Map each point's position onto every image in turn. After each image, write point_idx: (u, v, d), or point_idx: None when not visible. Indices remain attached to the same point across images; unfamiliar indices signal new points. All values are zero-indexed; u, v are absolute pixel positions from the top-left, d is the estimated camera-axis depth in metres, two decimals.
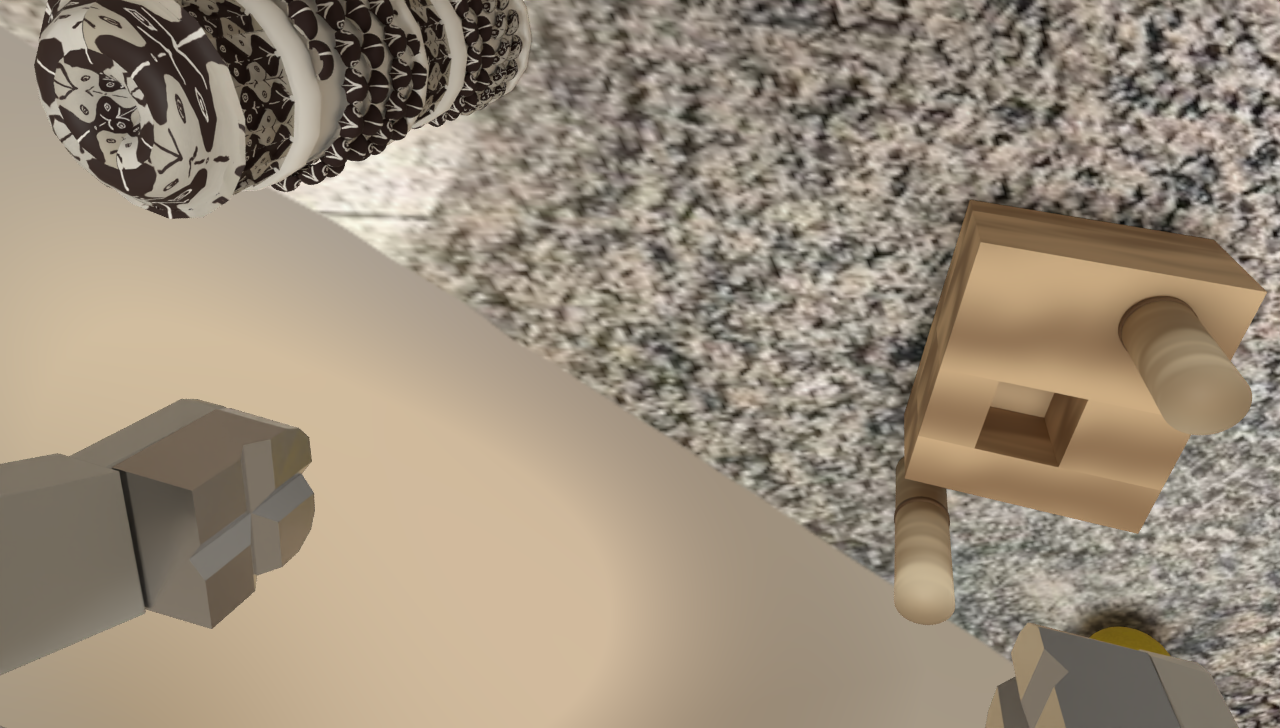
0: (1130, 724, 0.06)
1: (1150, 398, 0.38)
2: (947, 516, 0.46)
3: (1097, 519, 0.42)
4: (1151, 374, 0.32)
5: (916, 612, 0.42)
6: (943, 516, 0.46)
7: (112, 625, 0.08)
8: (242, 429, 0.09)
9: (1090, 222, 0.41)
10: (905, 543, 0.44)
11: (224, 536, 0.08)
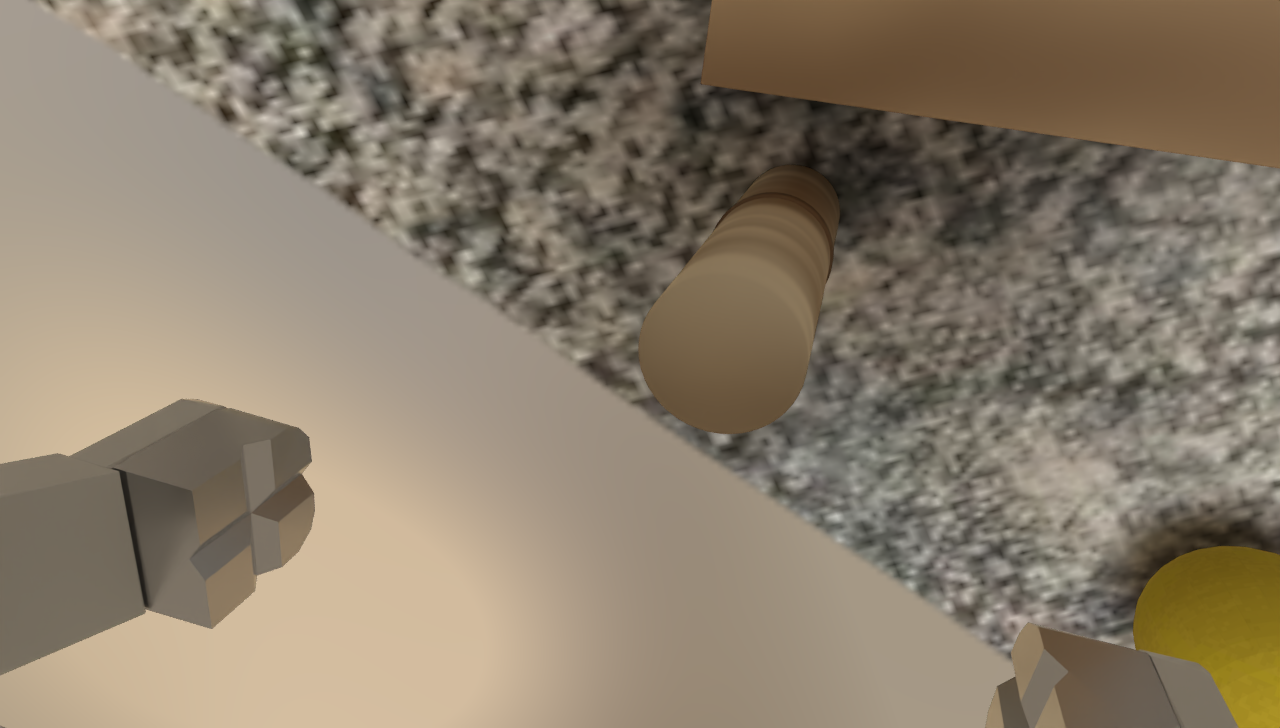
0: (1130, 724, 0.06)
1: None
2: (825, 233, 0.19)
3: (1212, 142, 0.15)
4: None
5: (703, 392, 0.14)
6: (813, 223, 0.19)
7: (112, 625, 0.08)
8: (242, 429, 0.09)
9: None
10: (699, 249, 0.17)
11: (224, 536, 0.08)
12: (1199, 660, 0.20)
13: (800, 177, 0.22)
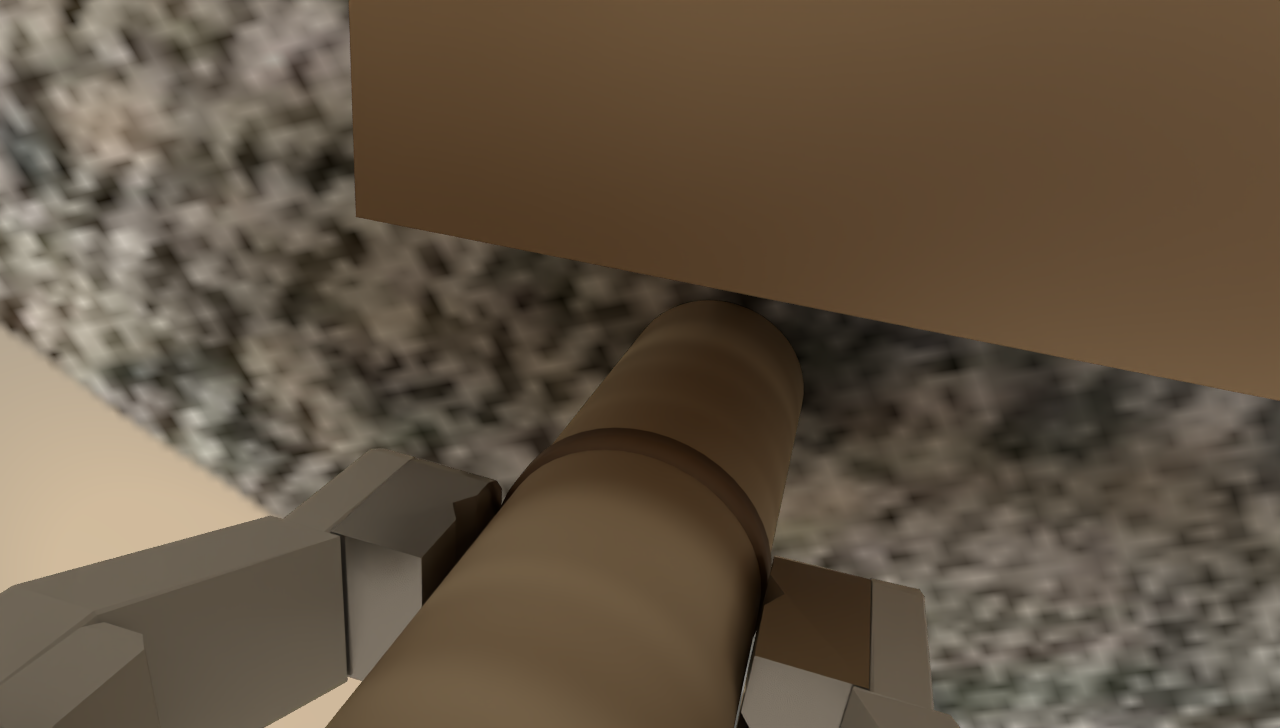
0: (820, 636, 0.07)
1: None
2: (748, 539, 0.08)
3: None
4: None
5: None
6: (712, 534, 0.08)
7: (318, 695, 0.08)
8: (444, 484, 0.08)
9: None
10: (328, 726, 0.05)
11: None
12: None
13: (718, 346, 0.11)
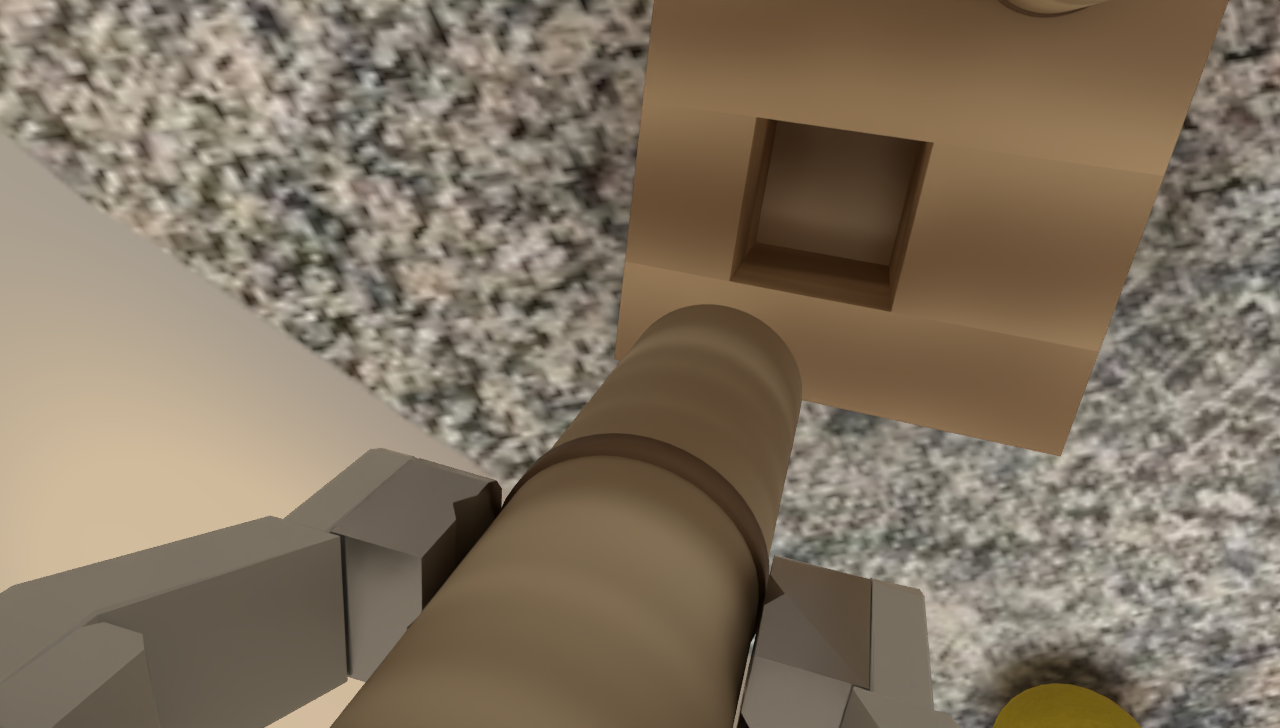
0: (821, 636, 0.07)
1: (1060, 125, 0.18)
2: (746, 544, 0.08)
3: (977, 427, 0.20)
4: None
5: None
6: (710, 540, 0.08)
7: (317, 695, 0.08)
8: (444, 484, 0.08)
9: None
10: None
11: None
12: None
13: (716, 351, 0.11)
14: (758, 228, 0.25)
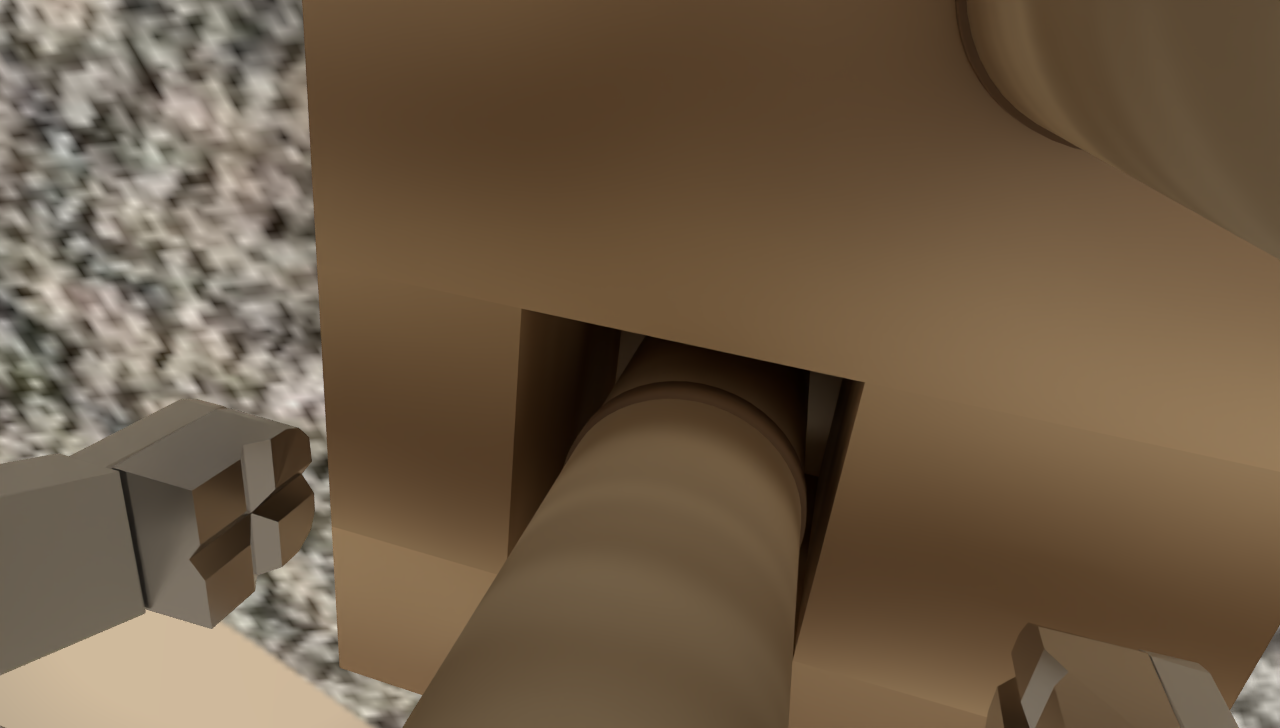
0: (1130, 724, 0.06)
1: (1132, 371, 0.08)
2: (791, 472, 0.09)
3: None
4: None
5: None
6: (765, 465, 0.09)
7: (112, 625, 0.08)
8: (242, 429, 0.09)
9: None
10: (480, 612, 0.07)
11: (224, 536, 0.08)
12: None
13: None
14: None
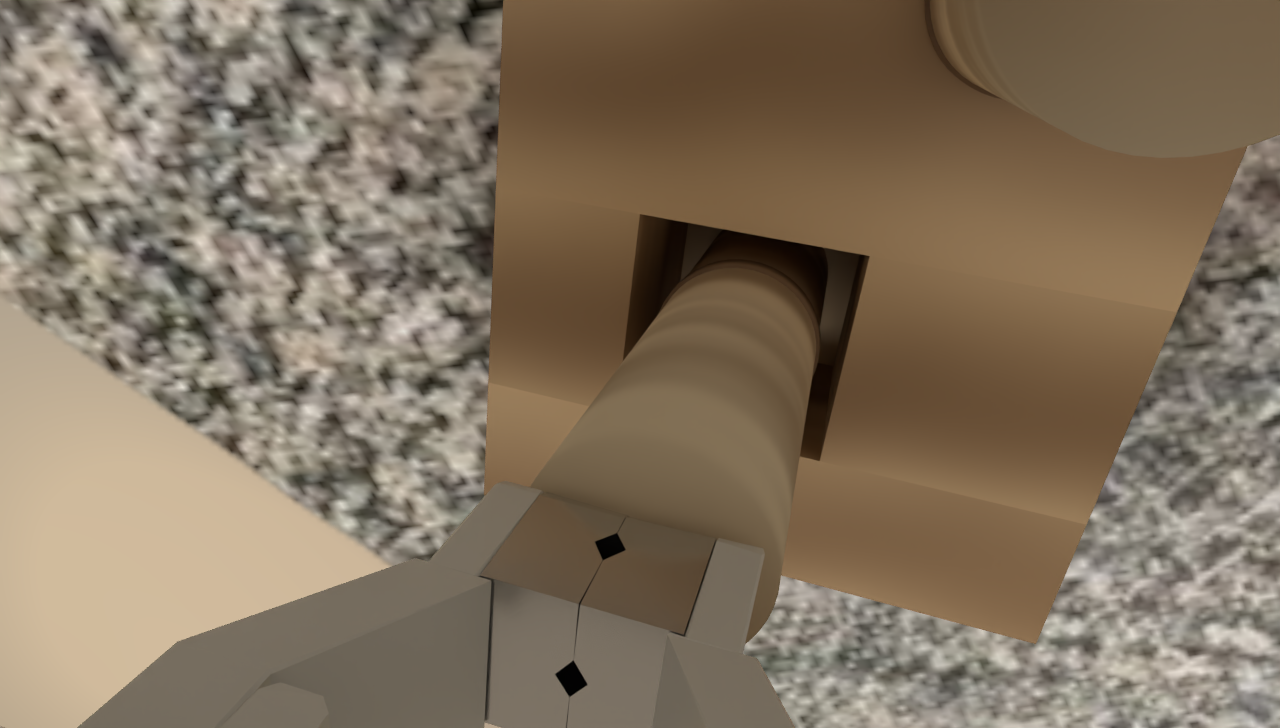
0: (651, 587, 0.07)
1: (1037, 241, 0.13)
2: (809, 315, 0.14)
3: (931, 603, 0.16)
4: None
5: None
6: (792, 305, 0.14)
7: None
8: (581, 520, 0.08)
9: None
10: (627, 357, 0.12)
11: None
12: None
13: None
14: None
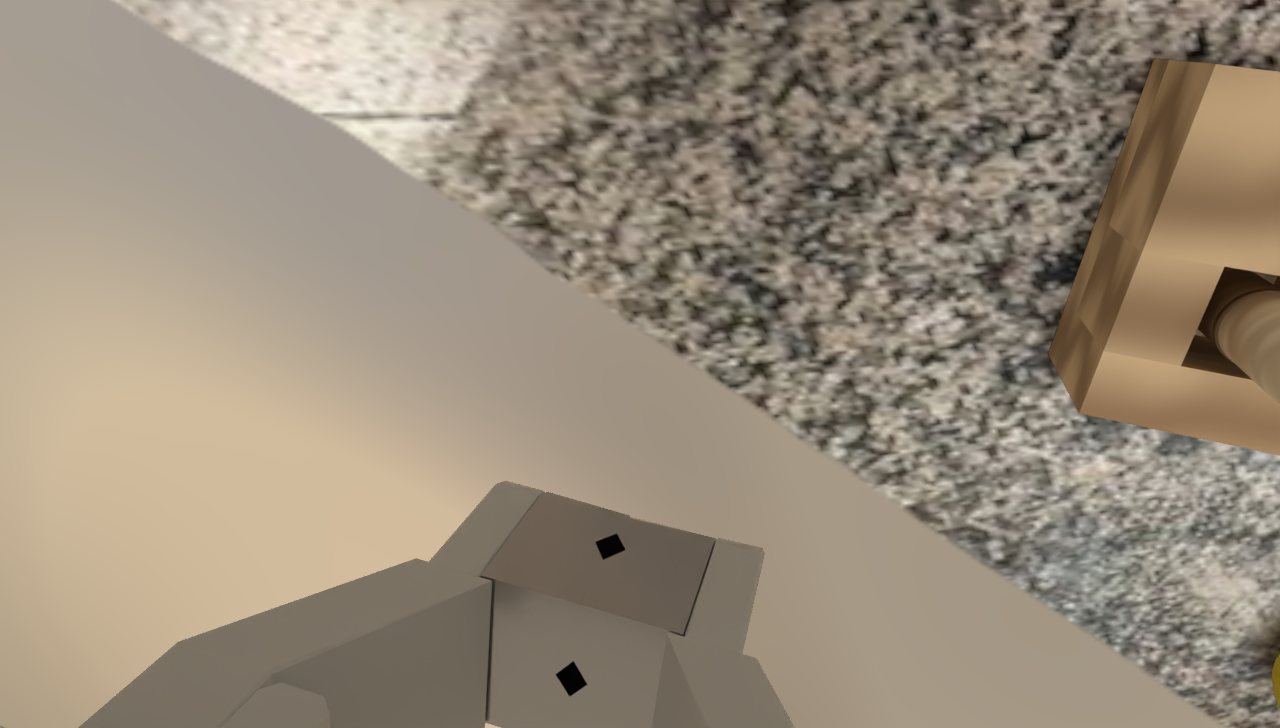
0: (649, 587, 0.07)
1: None
2: None
3: None
4: None
5: None
6: None
7: None
8: (581, 520, 0.08)
9: None
10: (1279, 334, 0.27)
11: None
12: None
13: (1250, 271, 0.33)
14: None
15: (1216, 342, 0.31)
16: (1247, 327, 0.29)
